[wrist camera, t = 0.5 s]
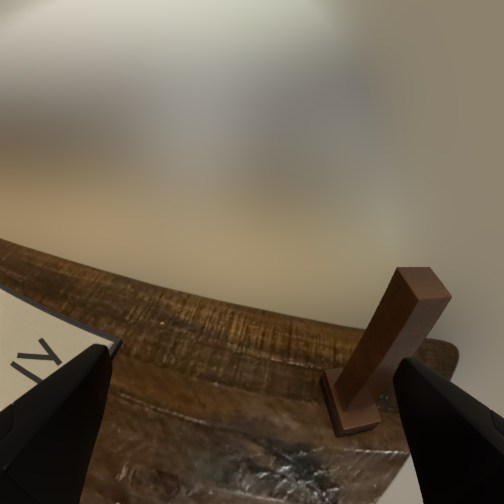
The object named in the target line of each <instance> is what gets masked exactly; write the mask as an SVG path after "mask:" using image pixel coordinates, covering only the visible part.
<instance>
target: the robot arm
mask: <svg viewBox="0 0 504 504" xmlns="http://www.w3.org/2000/svg"><path fill="white" fill-rule="evenodd" d="M111 375H112V362H111V358H110V354H109V349H108V347H107V346H106V345H103V344H97V343H94V344H92V345H91V346H89V347H88V348H86V349H85V350H84V351H82V352H81V353H80V354H78V355H77V356H75V357H74V358H73V359H71V360H70V361H68V362H67V363H66V364H64V365H63V366H62V367H60V368H59V369H57V370H56V371H55V372H53V373H52V374H50V375H49V376H48V377H46V378H45V379H44V380H42V381H41V382H40V383H38V384H37V385H35V386H34V387H33V388H31V389H30V390H29V391H27V392H26V393H25V394H23V395H22V396H20V397H19V398H18V399H16V400H15V401H14V402H13V404H12V403H11V404H10V405H8V406H7V407H5V408H4V409H3V410H1V411H0V504H79V502H80V497H81V493H82V489H83V485H84V481H85V477H86V474H87V470H88V466H89V462H90V459H91V455H92V452H93V448H94V445H95V441H96V438H97V435H98V431H99V428H100V425H101V422H102V418H103V414H104V410H105V405H106V399H107V394H108V389H109V385H110V380H111ZM393 385H394V389H395V394H396V399H397V403H398V408H399V413H400V418H401V422H402V425H403V429H404V432H405V435H406V439H407V442H408V446H409V449H410V452H411V456H412V460H413V463H414V467H415V471H416V474H417V478H418V482H419V486H420V490H421V494H422V498H423V503H424V504H504V418H503V417H501V416H500V415H498V414H497V413H495V412H494V411H492V410H490V409H489V408H488V407H486V406H485V405H484V404H482V403H481V402H479V401H478V400H476V399H475V398H474V397H472V396H471V395H469V394H468V393H466V392H465V391H463V390H462V389H460V388H459V387H458V386H456V385H455V384H453V383H452V382H450V381H449V380H447V379H446V378H445V377H443V376H442V375H440V374H439V373H437V372H436V371H434V370H433V369H432V368H430V367H429V366H427V365H426V364H424V363H423V362H421V361H420V360H418V359H417V358H415V357H405V358H403V359H402V360H401V362H400V364H399V366H398V368H397V370H396V371H395V373H394V376H393Z"/></svg>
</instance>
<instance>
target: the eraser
mask: <svg viewBox="0 0 504 504" xmlns="http://www.w3.org/2000/svg"><path fill="white" fill-rule="evenodd" d="M451 298H452V296H451V294H450V293H449V292H448V290H447V289H446V288H445V286H444V285H443V283H442V282H441V281H440V280H439V278H438V277H437V276H436V274H435V273H434V272H433V271H432V269H431V268H430V267H397V268H396V270H395V272H394V275H393V276H392V279H391V281H390V283H389V285H388V287H387V289H386V291H385V293H384V295H383V297H382V299H381V301H380V304H379V306H378V307H377V309H376V311H375V313H374V316H373V317H372V319H371V321H370V323H369V325H368V327H367V328H366V330H365V332H364V334H363V336H362V338H361V339H360V341H359V343H358V345H357V347H356V348H355V350H354V352H353V354H352V355H351V357H350V359H349V361H348V362H347V364H346V366H345V367H344V368H336V369H328V370H325V371H324V373H323V374H322V376H321V378H320V380H319V381H320V384H321V388H322V391H323V394H324V398H325V401H326V404H327V408H328V411H329V414H330V418H331V421H332V424H333V428H334V431H335V435H336V437H342V436H346V435H351V434H355V433H360V432H364V431H368V430H372V429H374V428H375V427H376V426H377V425H378V424H379V423H380V422H381V421H382V420H381V417H380V414H379V412H378V409H377V406H376V404H375V402H376V401H377V400H378V399H379V397H380V396H381V395H382V394H383V393H384V391H385V390H386V389H387V388H388V387H389V385H390V384H391V383H392V382H393V376H394V373H395V371H396V370H397V368H398V366H399V364H400V362H401V360H402V359H403V358H405V357H412V356H413V355H414V353H415V352H416V351H417V349H418V348H419V346H420V345H421V344H422V342H423V341H424V339H425V338H426V336H427V335H428V333H429V332H430V331H431V329H432V327H433V326H434V325H435V323H436V322H437V320H438V319H439V317H440V316H441V314H442V312H443V311H444V309H445V308H446V306H447V304H448V303H449V301H450V299H451Z"/></svg>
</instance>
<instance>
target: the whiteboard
mask: <svg viewBox="0 0 504 504" xmlns="http://www.w3.org/2000/svg"><path fill="white" fill-rule="evenodd" d="M94 343H97V344H103V345H106V346H107V347H108V349H109V354H110V358H111V360H112V358H113V356H114V355H115V353H116V352H117V350H118V348H119V347H120V345H121V344H122V339H121V338H118V337H116V336H113V335H110V334H108V333H105V332H103V331H100V330H98V329H95V328H93V327H91V326H88V325H86V324H83V323H81V322H79V321H76V320H74V319H72V318H70V317H67V316H65V315H63V314H61V313H58V312H56V311H54V310H52V309H50V308H48V307H46V306H44V305H41V304H39V303H37V302H35V301H33V300H31V299H29V298H27V297H25V296H23V295H21V294H19V293H17V292H16V291H14V290H12V289H10V288H8V287H6V286H4V285H2V284H1V283H0V411H1V410H3V409H4V408H5V407H7V406H8V405H10V404H11V403H12V404H13V402H14V401H15V400H16V399H18V398H19V397H20V396H22V395H23V394H25V393H26V392H27V391H29V390H30V389H31V388H33V387H34V386H35V385H37V384H38V383H40V382H41V381H42V380H44V379H45V378H46V377H48V376H49V375H50V374H52V373H53V372H55V371H56V370H57V369H59V368H60V367H62V366H63V365H64V364H66V363H67V362H68V361H70V360H71V359H73V358H74V357H75V356H77V355H78V354H80V353H81V352H82V351H84V350H85V349H86V348H88V347H89V346H91V345H92V344H94Z"/></svg>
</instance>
